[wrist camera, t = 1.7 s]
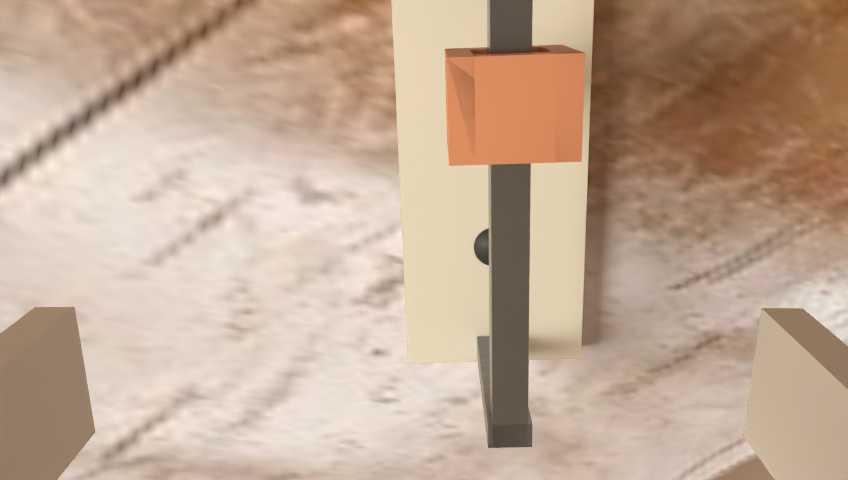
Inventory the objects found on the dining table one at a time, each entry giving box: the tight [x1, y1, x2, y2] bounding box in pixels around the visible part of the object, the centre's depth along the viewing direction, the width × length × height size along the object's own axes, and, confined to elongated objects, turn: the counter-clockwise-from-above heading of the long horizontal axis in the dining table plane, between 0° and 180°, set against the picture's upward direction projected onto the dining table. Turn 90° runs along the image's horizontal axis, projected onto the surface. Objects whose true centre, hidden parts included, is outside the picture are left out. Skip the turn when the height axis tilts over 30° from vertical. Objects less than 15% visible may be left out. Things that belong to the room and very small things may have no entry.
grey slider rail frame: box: [477, 0, 533, 448], centre depth 34 cm, size 24×2×9 cm, turn 2°
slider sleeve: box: [445, 45, 585, 166], centre depth 32 cm, size 4×5×10 cm
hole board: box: [392, 0, 594, 363], centre depth 39 cm, size 27×10×2 cm, turn 2°
